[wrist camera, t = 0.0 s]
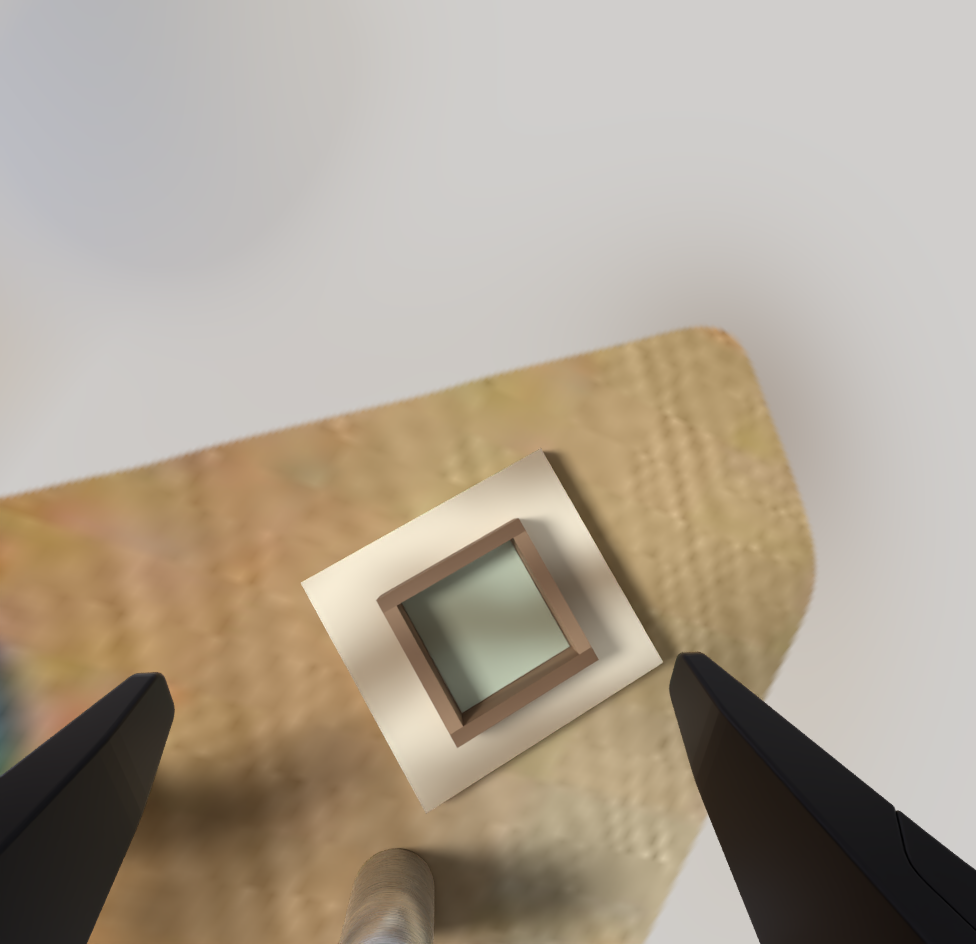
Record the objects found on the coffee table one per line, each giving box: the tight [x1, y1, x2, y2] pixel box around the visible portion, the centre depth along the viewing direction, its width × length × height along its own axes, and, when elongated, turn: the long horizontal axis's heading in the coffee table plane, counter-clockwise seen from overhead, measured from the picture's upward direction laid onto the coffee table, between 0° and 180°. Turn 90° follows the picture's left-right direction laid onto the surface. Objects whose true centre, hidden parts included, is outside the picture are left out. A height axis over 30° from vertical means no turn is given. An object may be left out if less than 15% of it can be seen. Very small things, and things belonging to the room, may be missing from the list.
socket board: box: [301, 448, 663, 813], centre depth 23 cm, size 11×12×2 cm
